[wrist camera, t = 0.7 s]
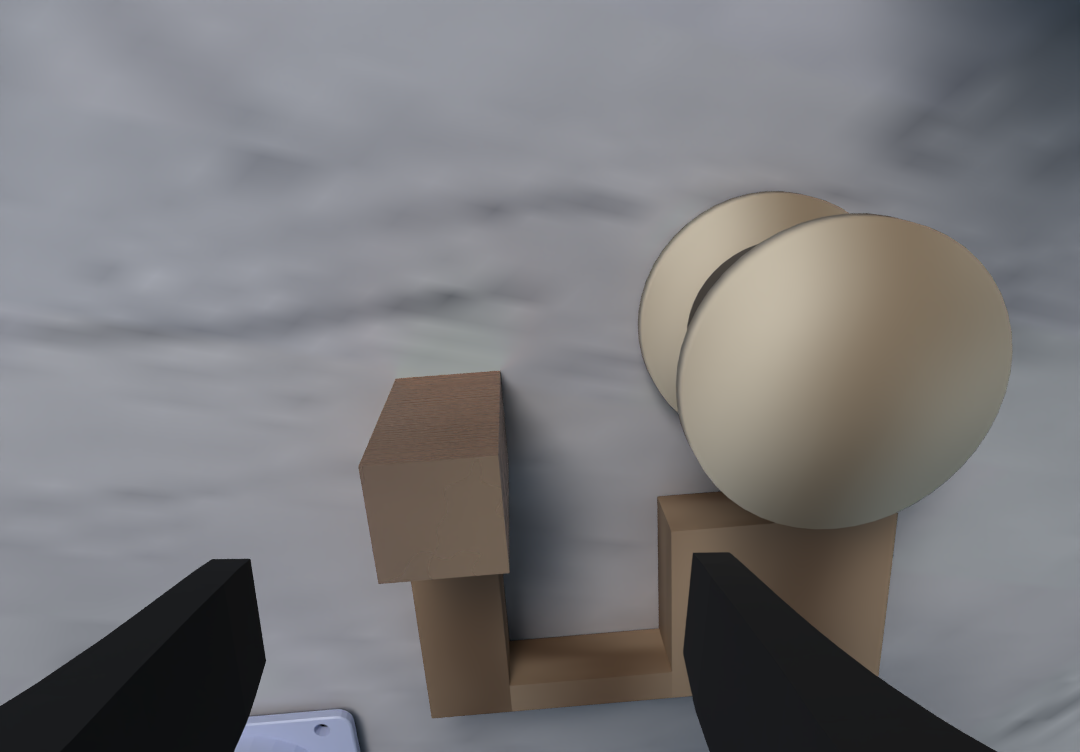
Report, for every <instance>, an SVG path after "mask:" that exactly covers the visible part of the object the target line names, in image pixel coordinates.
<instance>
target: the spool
mask: <svg viewBox="0 0 1080 752" xmlns="http://www.w3.org/2000/svg"><path fill="white" fill-rule="evenodd" d="M638 334H639V344H640V348H641V352H642V357H643V359H644V362H645V365H646V367H647V370H648V372H649V374H650V375H651V377H652V379H653V381H654V383H655V384H656V386H657V388H658V390H659V392H660V393H661V394H662V396H663V397H664V398H665V400H666V401H667V402H668V403H669V405H670V406H671V407H672V408H674V409H675V410H676V411H677V412H678V413H679V417H680V422H681V426H682V428H683V431H684V433H685V436H686V439H687V441H688V443H689V445H690V447H691V448H692V450H693V452H694V454H695V456H696V457H697V459H698V461H699V463H700V465H701V466H702V468H703V470H704V471H705V473H706V474H707V475H708V477H709V478H710V479H711V480H712V482H713V483H714V484H715V486H716V487H718V488H719V489H720V490H721V491H722V492H723V493H724V494H725V495H726V496H727V497H728V498H729V499H731V500H732V501H733V502H735V503H736V504H738V505H739V506H740V507H742V508H743V509H745V510H747V511H749V512H751V513H753V514H755V515H757V516H759V517H761V518H764V519H766V520H769V521H772V522H775V523H778V524H782V525H787V526H791V527H796V528H807V529H837V528H845V527H852V526H857V525H861V524H865V523H869V522H873V521H876V520H879V519H882V518H884V517H887V516H890V515H893V514H895V513H897V512H899V511H901V510H903V509H905V508H907V507H909V506H911V505H913V504H915V503H916V502H918V501H920V500H921V499H923V498H924V497H926V496H928V495H929V494H931V493H932V492H933V491H935V490H936V489H937V488H938V487H940V486H941V485H942V484H944V483H945V482H946V481H947V480H949V479H950V478H951V477H952V476H953V475H954V474H955V473H956V472H957V471H958V470H959V469H960V468H961V467H962V466H963V465H964V464H965V463H966V461H967V460H968V459H969V458H970V457H971V455H972V454H973V453H974V452H975V451H976V449H977V448H978V447H979V445H980V444H981V442H982V441H983V439H984V438H985V436H986V435H987V433H988V432H989V430H990V428H991V426H992V424H993V422H994V420H995V418H996V416H997V414H998V412H999V409H1000V407H1001V404H1002V401H1003V399H1004V396H1005V393H1006V389H1007V385H1008V381H1009V376H1010V371H1011V361H1012V332H1011V327H1010V322H1009V316H1008V312H1007V309H1006V306H1005V303H1004V300H1003V298H1002V295H1001V293H1000V291H999V289H998V287H997V285H996V284H995V282H994V280H993V278H992V276H991V275H990V274H989V272H988V271H987V270H986V269H985V267H984V266H983V265H982V263H981V262H980V261H979V260H978V259H977V258H976V257H975V256H974V255H973V254H972V253H970V252H969V251H968V250H967V249H966V248H965V247H964V246H962V245H961V244H959V243H958V242H956V241H955V240H953V239H952V238H950V237H949V236H947V235H945V234H943V233H941V232H938V231H936V230H934V229H932V228H930V227H927V226H924V225H920V224H916V223H913V222H909V221H906V220H902V219H898V218H894V217H890V216H883V215H876V214H868V213H863V214H849V213H848V212H846V211H845V210H843V209H842V208H840V207H838V206H836V205H833V204H831V203H829V202H827V201H824V200H821V199H817V198H813V197H810V196H806V195H802V194H798V193H790V192H783V191H771V192H759V193H751V194H746V195H743V196H739V197H736V198H732V199H729V200H727V201H725V202H722V203H720V204H718V205H715V206H714V207H712V208H710V209H708V210H707V211H705V212H703V213H701V214H700V215H698V216H697V217H696V218H694V219H693V220H692V221H690V222H689V223H688V224H686V225H685V226H684V227H683V228H682V229H681V230H680V231H679V232H678V233H677V234H676V235H675V236H674V237H673V238H672V239H671V241H670V242H669V243H668V244H667V246H666V247H665V248H664V249H663V251H662V252H661V254H660V255H659V257H658V259H657V260H656V262H655V263H654V265H653V267H652V269H651V271H650V274H649V276H648V278H647V280H646V283H645V286H644V290H643V293H642V296H641V301H640V307H639V315H638Z"/></svg>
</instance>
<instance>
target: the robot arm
mask: <svg viewBox="0 0 1080 752" xmlns="http://www.w3.org/2000/svg"><path fill="white" fill-rule="evenodd" d="M683 656H684V660H685V665H686V670H687V675H688V679H689V684H690V688H691V693H692V697H693V701H694V705H695V710H696V713H697V716H698V719H699V722H700V725H701V728H702V731H703V734H704V737H705V739H706V742H707V745H708V748H709V751H710V752H997V751H995V750H993V749H991V748H990V747H988V746H986V745H984V744H982V743H981V742H979V741H977V740H975V739H974V738H972V737H970V736H968V735H967V734H965V733H963V732H962V731H960V730H958V729H957V728H955V727H953V726H952V725H950V724H948V723H947V722H945V721H943V720H942V719H940V718H939V717H937V716H935V715H934V714H932V713H931V712H929V711H928V710H926V709H925V708H923V707H922V706H920V705H919V704H917V703H916V702H914V701H913V700H911V699H910V698H908V697H907V696H905V695H904V694H902V693H901V692H899V691H898V690H896V689H895V688H893V687H892V686H890V685H889V684H887V683H886V682H885V681H883V680H882V679H880V678H879V677H878V676H876V675H875V674H873V673H872V672H871V671H869V670H868V669H867V668H866V667H864V666H863V665H862V664H860V663H859V662H858V661H856V660H855V659H854V658H852V657H851V656H850V655H848V654H847V653H846V652H845V651H843V650H842V649H841V648H839V647H838V646H837V645H836V644H834V643H833V642H832V641H831V640H829V639H828V638H827V637H826V636H824V635H823V634H822V633H821V632H820V631H818V630H817V629H816V628H815V627H814V626H812V625H811V624H810V623H809V622H808V621H806V620H805V619H804V618H803V617H802V616H801V615H799V614H798V613H797V612H796V611H795V610H794V609H793V608H791V607H790V606H789V605H788V604H787V603H786V602H785V601H783V600H782V599H781V598H780V597H779V596H778V595H777V594H776V593H775V592H773V591H772V590H771V589H770V588H769V587H768V586H767V585H766V584H765V583H763V582H762V581H761V580H760V579H759V578H758V577H757V576H756V575H755V574H754V573H752V572H751V571H750V570H749V569H748V568H747V567H746V566H745V565H744V564H742V563H741V562H740V561H739V560H738V559H737V558H736V557H734V556H733V555H732V554H731V553H730V552H707V553H693V556H692V566H691V576H690V586H689V596H688V606H687V616H686V626H685V636H684V647H683ZM265 662H266V658H265V651H264V645H263V638H262V632H261V625H260V619H259V612H258V606H257V599H256V593H255V586H254V580H253V573H252V567H251V560H250V559H212V560H210V561H209V562H207V563H206V564H204V565H203V566H201V567H200V568H198V569H197V570H195V571H194V572H193V573H191V574H190V575H188V576H187V577H186V578H184V579H183V580H182V581H180V582H179V583H178V584H176V585H175V586H174V587H172V588H171V589H169V590H168V591H167V592H165V593H164V594H163V595H161V596H160V597H159V598H157V599H156V600H155V601H153V602H152V603H151V604H149V605H148V606H147V607H145V608H144V609H143V610H141V611H140V612H138V613H137V614H136V615H134V616H133V617H132V618H130V619H129V620H128V621H126V622H125V623H123V624H122V625H121V626H119V627H118V628H117V629H115V630H114V631H112V632H111V633H110V634H108V635H107V636H106V637H104V638H103V639H101V640H100V641H99V642H97V643H96V644H94V645H93V646H91V647H90V648H88V649H87V650H85V651H84V652H82V653H81V654H79V655H78V656H76V657H75V658H73V659H72V660H70V661H69V662H68V663H66V664H65V665H63V666H62V667H60V668H59V669H57V670H56V671H54V672H53V673H51V674H50V675H48V676H47V677H45V678H44V679H42V680H41V681H40V682H38V683H37V684H35V685H33V686H32V687H30V688H29V689H27V690H25V691H24V692H22V693H21V694H19V695H18V696H16V697H14V698H13V699H11V700H9V701H8V702H6V703H5V704H3V705H1V706H0V752H360V747H359V742H358V737H357V732H356V727H355V722H354V718H353V716H352V715H351V714H350V713H349V712H348V711H345V710H342V709H333V710H321V711H310V712H298V713H286V714H274V715H263V716H251V717H249V715H250V712H251V708H252V705H253V702H254V699H255V696H256V693H257V690H258V686H259V683H260V679H261V676H262V673H263V669H264V666H265ZM319 724H325V725H327V727H323V726H321V725H319Z"/></svg>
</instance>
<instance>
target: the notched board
mask: <svg viewBox="0 0 1080 752" xmlns="http://www.w3.org/2000/svg"><path fill="white" fill-rule="evenodd" d="M657 505H658V591H659V629H647V630H635V631H623V632H611V633H599V634H587V635H575V636H563V637H552V638H540V639H528V640H516V641H509V631H508V621H507V611H506V601H505V591H504V581H503V574H492V575H480V576H468V577H456V578H444V579H432V580H420V581H411V585H412V591H413V598H414V604H415V611H416V617H417V624H418V631H419V637H420V644H421V650H422V657H423V663H424V670H425V676H426V683H427V690H428V696H429V703H430V709H431V716H432V718H442V717H453V716H465V715H477V714H488V713H500V712H511V711H523V710H535V709H546V708H558V707H570V706H581V705H593V704H605V703H616V702H628V701H640V700H651V699H663V698H674V697H686V696H692V693H691V688H690V684H689V679H688V675H687V670H686V665H685V660H684V656H683V647H684V636H685V626H686V616H687V606H688V596H689V586H690V576H691V566H692V556H693V553H707V552H730V553H731V554H732V555H733V556H734V557H736V558H737V559H738V560H739V561H740V562H741V563H742V564H744V565H745V566H746V567H747V568H748V569H749V570H750V571H751V572H752V573H754V574H755V575H756V576H757V577H758V578H759V579H760V580H761V581H762V582H763V583H765V584H766V585H767V586H768V587H769V588H770V589H771V590H772V591H773V592H775V593H776V594H777V595H778V596H779V597H780V598H781V599H782V600H783V601H785V602H786V603H787V604H788V605H789V606H790V607H791V608H793V609H794V610H795V611H796V612H797V613H798V614H799V615H801V616H802V617H803V618H804V619H805V620H806V621H808V622H809V623H810V624H811V625H812V626H814V627H815V628H816V629H817V630H818V631H820V632H821V633H822V634H823V635H824V636H826V637H827V638H828V639H829V640H831V641H832V642H833V643H834V644H836V645H837V646H838V647H839V648H841V649H842V650H843V651H845V652H846V653H847V654H848V655H850V656H851V657H852V658H854V659H855V660H856V661H858V662H859V663H860V664H862V665H863V666H864V667H866V668H867V669H868V670H869V671H871V672H872V673H873V674H875V675H876V676H878V675H879V666H880V658H881V650H882V642H883V633H884V625H885V617H886V608H887V600H888V592H889V583H890V575H891V567H892V558H893V550H894V542H895V534H896V525H897V517H898V513H895V514H893V515H890V516H887V517H884V518H882V519H879V520H876V521H873V522H869V523H865V524H861V525H857V526H852V527H845V528H837V529H807V528H796V527H791V526H787V525H782V524H778V523H775V522H772V521H769V520H766V519H764V518H761V517H759V516H757V515H755V514H753V513H751V512H749V511H747V510H745V509H743V508H742V507H740V506H739V505H738V504H736V503H735V502H733V501H732V500H731V499H729V498H728V497H727V496H726V495H725V494H724V493H723V492H722V491H721V492H708V493H696V494H684V495H671V496H659V497H657Z"/></svg>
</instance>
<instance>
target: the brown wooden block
mask: <svg viewBox="0 0 1080 752" xmlns="http://www.w3.org/2000/svg"><path fill="white" fill-rule="evenodd" d="M359 473H360V479H361V484H362V490H363V496H364V502H365V508H366V513H367V519H368V525H369V531H370V537H371V543H372V548H373V554H374V560H375V566H376V572H377V578H378V583H379V584H384V583H396V582H408V581H420V580H432V579H444V578H456V577H468V576H480V575H492V574H504V573H509V463H508V452H507V441H506V430H505V419H504V408H503V397H502V386H501V375H500V371H489V372H476V373H463V374H451V375H438V376H425V377H412V378H399V379H395V382H394V384H393V387H392V389H391V391H390V394H389V396H388V398H387V401H386V403H385V405H384V408H383V410H382V412H381V415H380V417H379V419H378V422H377V424H376V427H375V429H374V431H373V434H372V436H371V438H370V441H369V443H368V445H367V448H366V450H365V452H364V455H363V457H362V459H361V462H360V464H359Z"/></svg>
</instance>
